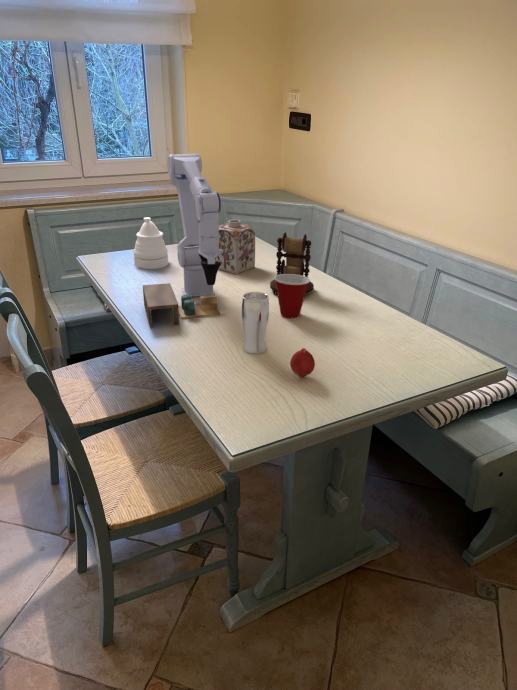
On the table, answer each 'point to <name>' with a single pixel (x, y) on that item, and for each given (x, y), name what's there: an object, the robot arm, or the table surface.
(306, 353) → the onion
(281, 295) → the plastic cup
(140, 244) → the honey pot
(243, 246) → the decorative jar
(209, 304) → the tray
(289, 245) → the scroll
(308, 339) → the table surface
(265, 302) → the beer glass
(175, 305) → the wooden caddy
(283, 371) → the table surface
